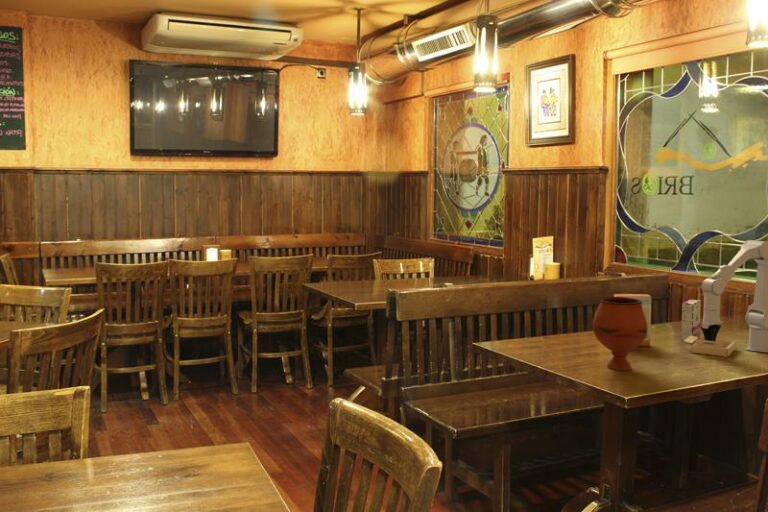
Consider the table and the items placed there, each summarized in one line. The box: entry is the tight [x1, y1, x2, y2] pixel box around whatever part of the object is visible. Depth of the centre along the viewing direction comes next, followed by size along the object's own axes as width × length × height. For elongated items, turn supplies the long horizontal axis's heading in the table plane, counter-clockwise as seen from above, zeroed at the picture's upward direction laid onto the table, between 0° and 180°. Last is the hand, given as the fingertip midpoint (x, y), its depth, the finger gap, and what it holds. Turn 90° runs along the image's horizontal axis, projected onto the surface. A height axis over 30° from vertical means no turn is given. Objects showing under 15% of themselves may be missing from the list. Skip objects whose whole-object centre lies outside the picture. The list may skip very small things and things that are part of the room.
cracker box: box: [613, 293, 652, 347], centre depth 314 cm, size 14×6×21 cm, turn 84°
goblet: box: [592, 296, 647, 371], centre depth 277 cm, size 19×19×25 cm
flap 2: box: [694, 339, 722, 348], centre depth 296 cm, size 3×10×1 cm
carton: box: [691, 336, 736, 358], centre depth 304 cm, size 13×17×3 cm
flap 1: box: [682, 336, 700, 345], centre depth 309 cm, size 3×13×1 cm, turn 147°
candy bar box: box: [680, 299, 702, 342], centre depth 324 cm, size 11×5×16 cm, turn 143°
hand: (710, 343), depth 298 cm, fingers open, 3 cm apart
